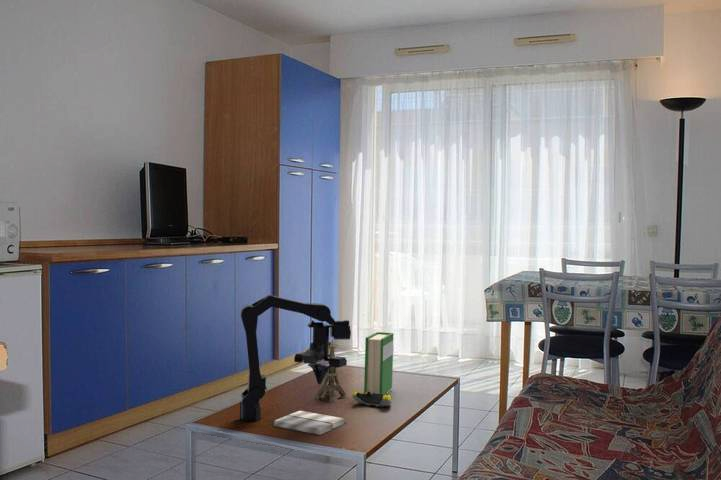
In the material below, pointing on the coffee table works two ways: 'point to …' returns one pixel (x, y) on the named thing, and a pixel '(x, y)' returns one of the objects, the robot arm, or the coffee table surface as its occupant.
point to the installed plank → (303, 425)
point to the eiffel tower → (331, 382)
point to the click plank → (319, 418)
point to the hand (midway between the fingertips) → (319, 384)
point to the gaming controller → (372, 399)
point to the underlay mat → (313, 433)
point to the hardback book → (378, 363)
